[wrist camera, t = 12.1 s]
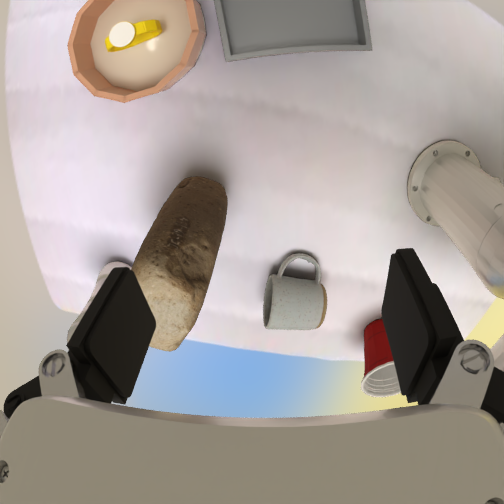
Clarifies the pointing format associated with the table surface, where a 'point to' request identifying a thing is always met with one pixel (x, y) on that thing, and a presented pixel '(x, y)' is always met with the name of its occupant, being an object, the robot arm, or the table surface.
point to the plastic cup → (378, 363)
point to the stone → (181, 257)
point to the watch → (131, 34)
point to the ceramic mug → (294, 299)
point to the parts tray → (291, 27)
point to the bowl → (135, 47)
